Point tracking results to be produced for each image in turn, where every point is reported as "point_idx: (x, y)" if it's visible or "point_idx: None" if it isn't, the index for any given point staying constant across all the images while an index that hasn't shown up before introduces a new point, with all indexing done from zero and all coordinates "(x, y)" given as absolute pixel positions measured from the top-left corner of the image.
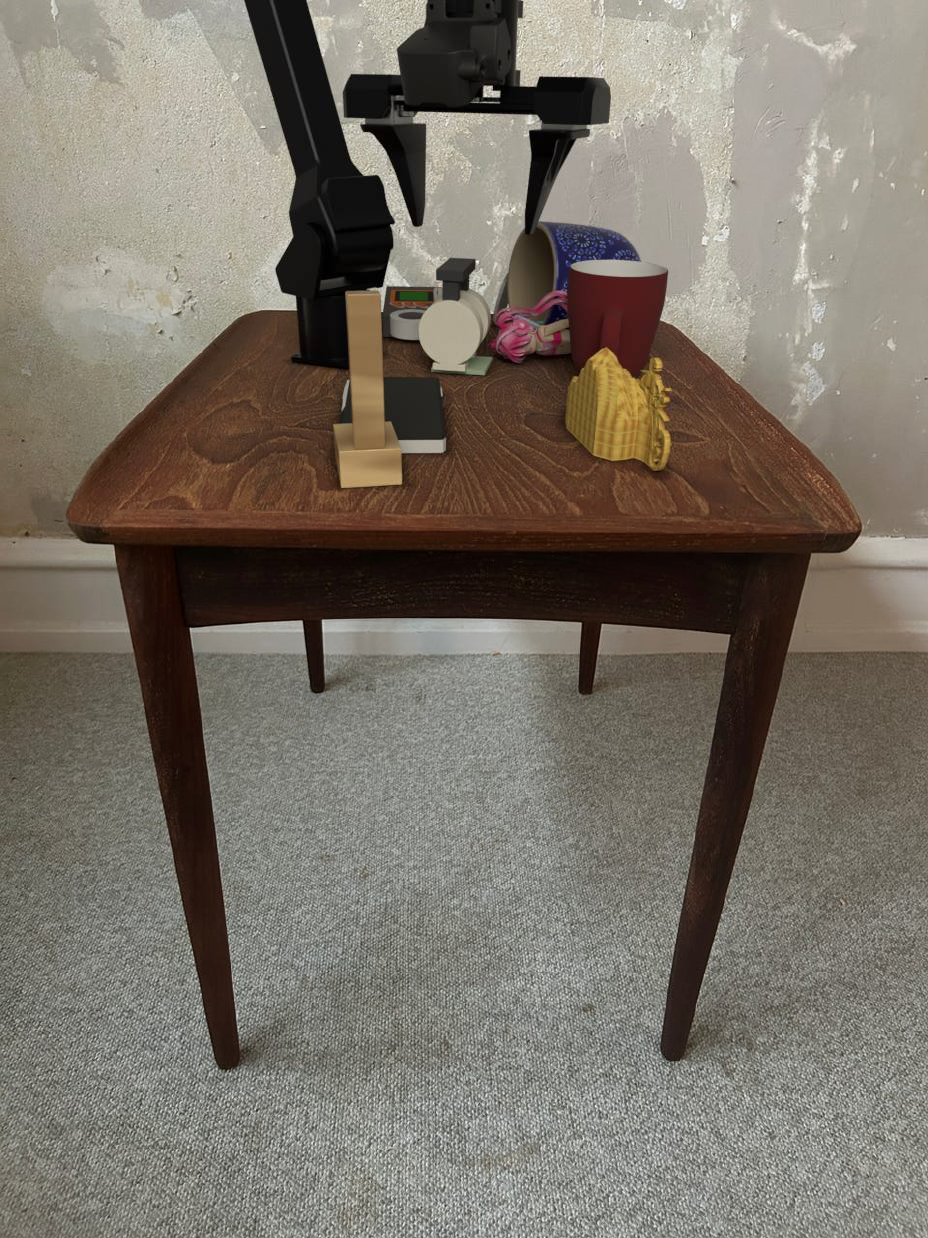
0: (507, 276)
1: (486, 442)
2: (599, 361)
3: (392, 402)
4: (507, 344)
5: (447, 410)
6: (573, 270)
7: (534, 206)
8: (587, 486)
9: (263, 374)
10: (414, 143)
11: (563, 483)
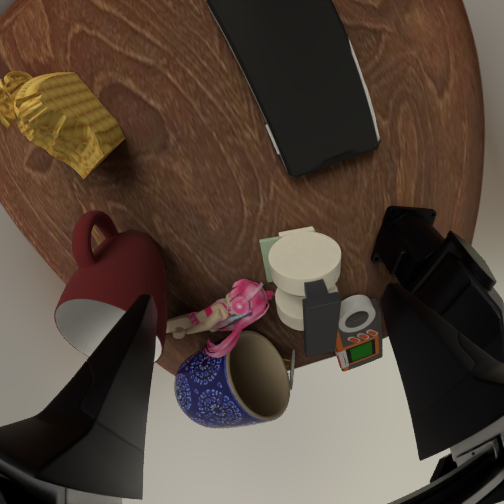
0: (291, 383)
1: (176, 44)
2: (32, 100)
3: (308, 75)
4: (250, 285)
5: (255, 117)
6: None
7: (114, 330)
8: (64, 14)
9: (446, 171)
10: (445, 414)
11: (82, 6)
